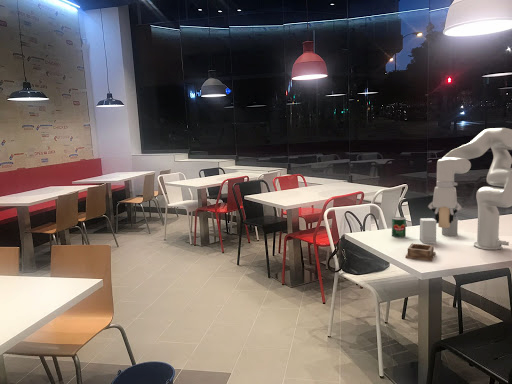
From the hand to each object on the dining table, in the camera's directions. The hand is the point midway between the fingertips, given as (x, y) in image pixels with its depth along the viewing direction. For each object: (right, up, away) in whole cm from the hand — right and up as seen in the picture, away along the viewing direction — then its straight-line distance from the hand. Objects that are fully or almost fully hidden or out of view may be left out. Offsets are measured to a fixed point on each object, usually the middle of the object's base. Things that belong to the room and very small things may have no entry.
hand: (444, 221), depth 190 cm
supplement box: (+6, -14, +31) cm, 34 cm away
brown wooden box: (-9, -18, +6) cm, 21 cm away
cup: (+24, -11, +43) cm, 50 cm away
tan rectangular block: (0, -2, 0) cm, 3 cm away
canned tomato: (-6, -12, +45) cm, 47 cm away
